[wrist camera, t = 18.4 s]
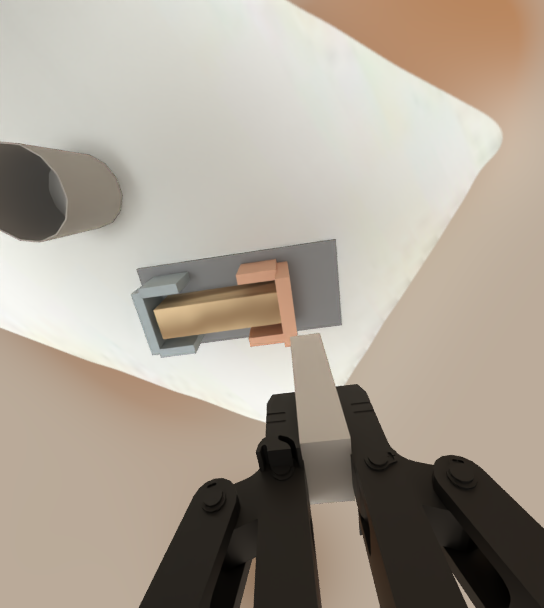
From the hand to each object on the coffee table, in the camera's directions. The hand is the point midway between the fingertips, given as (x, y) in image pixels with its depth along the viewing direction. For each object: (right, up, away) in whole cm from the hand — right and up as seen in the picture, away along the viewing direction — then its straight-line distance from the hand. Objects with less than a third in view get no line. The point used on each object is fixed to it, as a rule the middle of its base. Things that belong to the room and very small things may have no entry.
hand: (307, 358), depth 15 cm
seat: (-6, +4, +25) cm, 26 cm away
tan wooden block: (-8, +3, +25) cm, 26 cm away
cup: (-24, +16, +20) cm, 35 cm away
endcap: (-2, +4, +24) cm, 25 cm away
